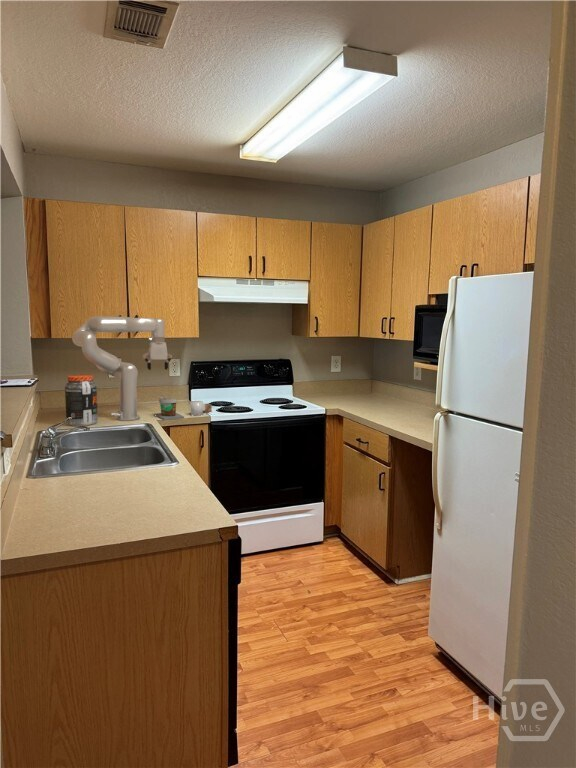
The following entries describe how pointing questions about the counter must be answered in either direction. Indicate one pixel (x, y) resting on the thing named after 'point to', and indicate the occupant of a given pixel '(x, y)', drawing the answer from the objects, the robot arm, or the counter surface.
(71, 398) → the supplement tub
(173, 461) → the counter surface
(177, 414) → the slate mat
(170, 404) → the food container
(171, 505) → the counter surface
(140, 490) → the counter surface
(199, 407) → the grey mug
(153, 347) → the robot arm
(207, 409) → the walnut block
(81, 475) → the counter surface
